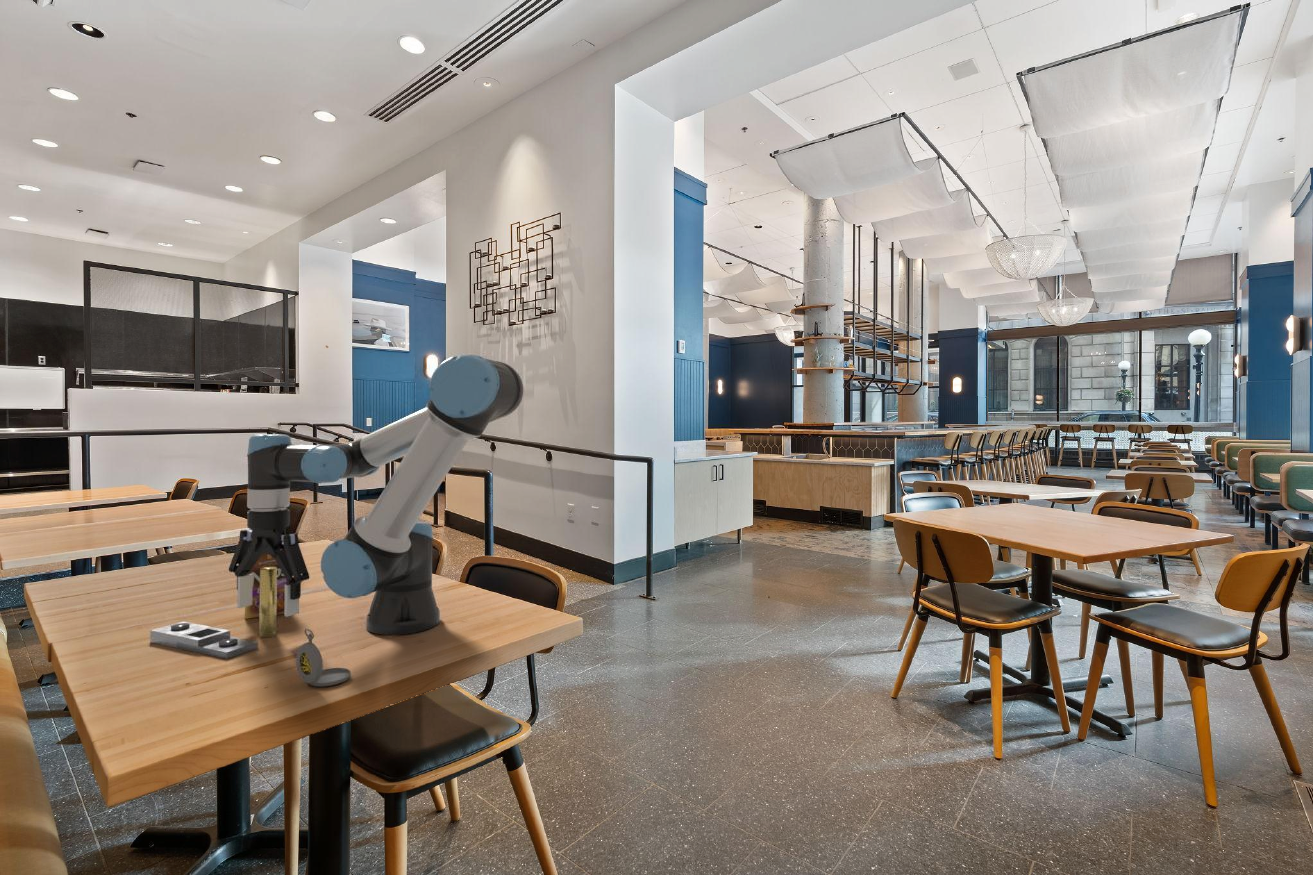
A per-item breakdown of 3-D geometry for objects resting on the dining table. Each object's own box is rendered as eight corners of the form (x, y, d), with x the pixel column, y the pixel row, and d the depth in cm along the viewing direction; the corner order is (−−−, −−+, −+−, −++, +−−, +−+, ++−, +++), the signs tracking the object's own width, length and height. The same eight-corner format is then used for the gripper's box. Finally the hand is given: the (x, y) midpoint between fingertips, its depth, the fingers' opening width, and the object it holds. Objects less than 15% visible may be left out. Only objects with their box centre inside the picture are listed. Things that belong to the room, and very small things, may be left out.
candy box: (244, 619, 140) (245, 551, 140) (244, 614, 144) (245, 548, 143) (290, 614, 145) (291, 548, 145) (289, 609, 149) (290, 545, 148)
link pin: (279, 634, 131) (280, 567, 131) (266, 638, 128) (266, 570, 128) (269, 632, 132) (269, 566, 132) (255, 636, 130) (256, 569, 129)
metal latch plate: (258, 648, 123) (258, 632, 123) (226, 658, 117) (226, 642, 117) (183, 632, 131) (183, 618, 131) (150, 642, 125) (150, 627, 125)
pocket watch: (357, 673, 112) (358, 617, 112) (334, 693, 104) (335, 633, 103) (310, 672, 112) (311, 617, 112) (284, 693, 103) (285, 632, 103)
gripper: (329, 510, 129) (328, 613, 129) (244, 502, 138) (243, 598, 138) (296, 515, 122) (295, 623, 122) (209, 506, 131) (208, 607, 131)
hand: (267, 610), depth 130 cm, fingers open, 13 cm apart
